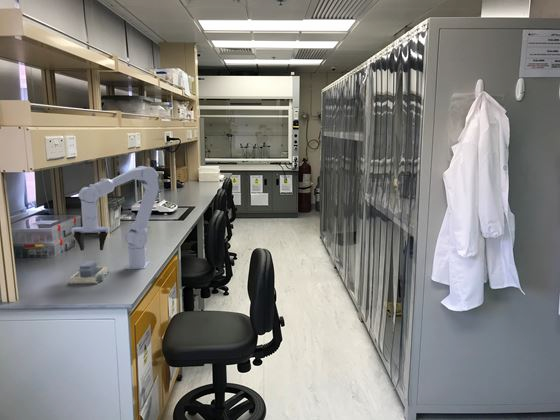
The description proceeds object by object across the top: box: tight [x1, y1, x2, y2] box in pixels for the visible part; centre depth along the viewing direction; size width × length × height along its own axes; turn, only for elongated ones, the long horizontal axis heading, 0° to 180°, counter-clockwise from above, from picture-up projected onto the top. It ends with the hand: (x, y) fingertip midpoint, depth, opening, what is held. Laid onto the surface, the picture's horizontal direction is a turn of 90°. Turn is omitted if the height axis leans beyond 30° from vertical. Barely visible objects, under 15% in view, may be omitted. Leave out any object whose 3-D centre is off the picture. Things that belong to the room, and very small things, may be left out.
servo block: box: [78, 260, 99, 277], centre depth 176 cm, size 10×4×6 cm, turn 4°
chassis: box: [67, 266, 110, 286], centre depth 176 cm, size 15×12×3 cm
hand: (92, 249), depth 180 cm, fingers open, 7 cm apart
